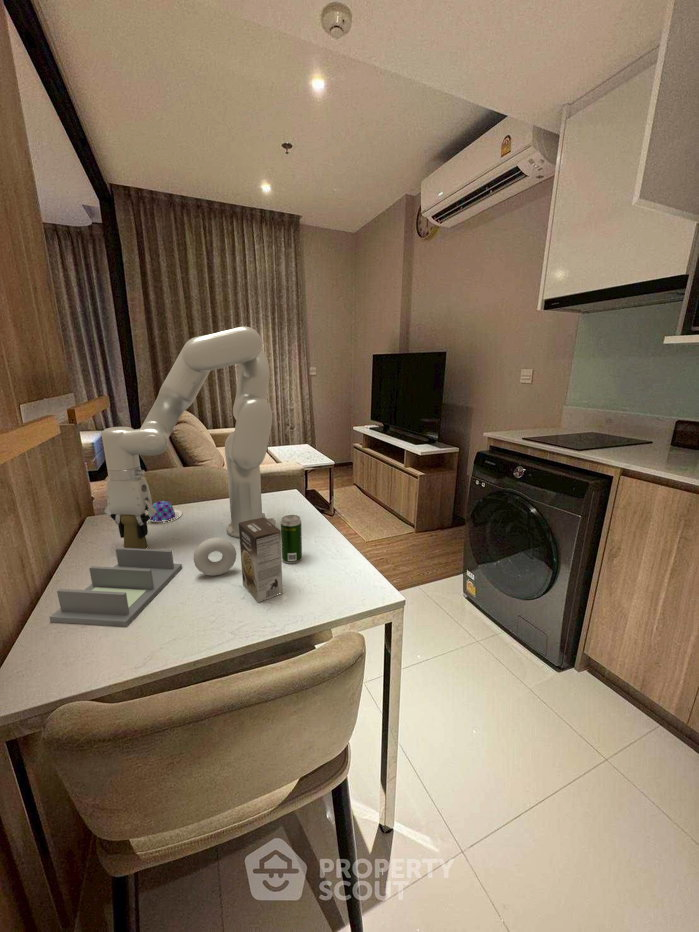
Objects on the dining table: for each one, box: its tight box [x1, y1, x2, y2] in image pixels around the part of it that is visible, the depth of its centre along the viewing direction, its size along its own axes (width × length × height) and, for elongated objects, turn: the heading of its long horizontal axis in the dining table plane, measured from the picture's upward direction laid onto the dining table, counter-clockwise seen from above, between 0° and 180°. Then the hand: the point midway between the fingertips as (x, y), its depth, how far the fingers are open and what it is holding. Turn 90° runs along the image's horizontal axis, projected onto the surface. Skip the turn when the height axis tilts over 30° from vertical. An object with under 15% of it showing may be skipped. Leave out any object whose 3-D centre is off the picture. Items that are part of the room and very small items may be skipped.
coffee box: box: [238, 517, 283, 603], centre depth 85 cm, size 9×6×16 cm
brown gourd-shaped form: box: [121, 515, 149, 549], centre depth 103 cm, size 6×6×11 cm
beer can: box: [280, 514, 303, 565], centre depth 98 cm, size 5×5×12 cm
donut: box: [193, 537, 238, 576], centre depth 91 cm, size 10×4×10 cm, turn 109°
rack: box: [49, 547, 183, 628], centre depth 84 cm, size 16×22×6 cm
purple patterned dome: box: [147, 500, 183, 524], centre depth 125 cm, size 12×12×5 cm
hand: (134, 535), depth 104 cm, fingers closed on brown gourd-shaped form, 4 cm apart
